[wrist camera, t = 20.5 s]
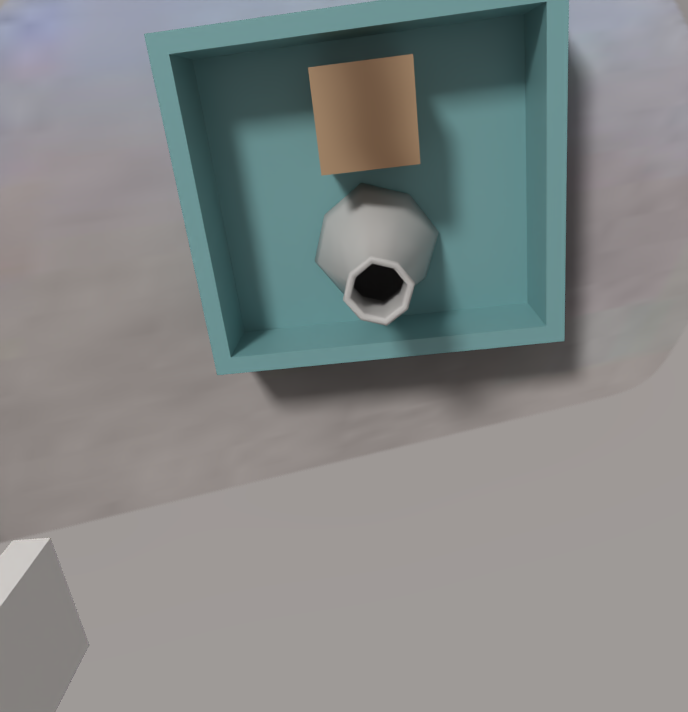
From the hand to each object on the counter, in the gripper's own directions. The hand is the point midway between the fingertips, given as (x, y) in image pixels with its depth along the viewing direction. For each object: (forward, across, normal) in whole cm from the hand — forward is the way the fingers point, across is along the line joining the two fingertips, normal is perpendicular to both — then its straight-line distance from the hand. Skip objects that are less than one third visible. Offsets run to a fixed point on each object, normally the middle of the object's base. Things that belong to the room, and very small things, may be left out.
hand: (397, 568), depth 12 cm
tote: (+29, 0, +4) cm, 29 cm away
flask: (+28, 0, 0) cm, 28 cm away
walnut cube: (+28, 0, +8) cm, 29 cm away
